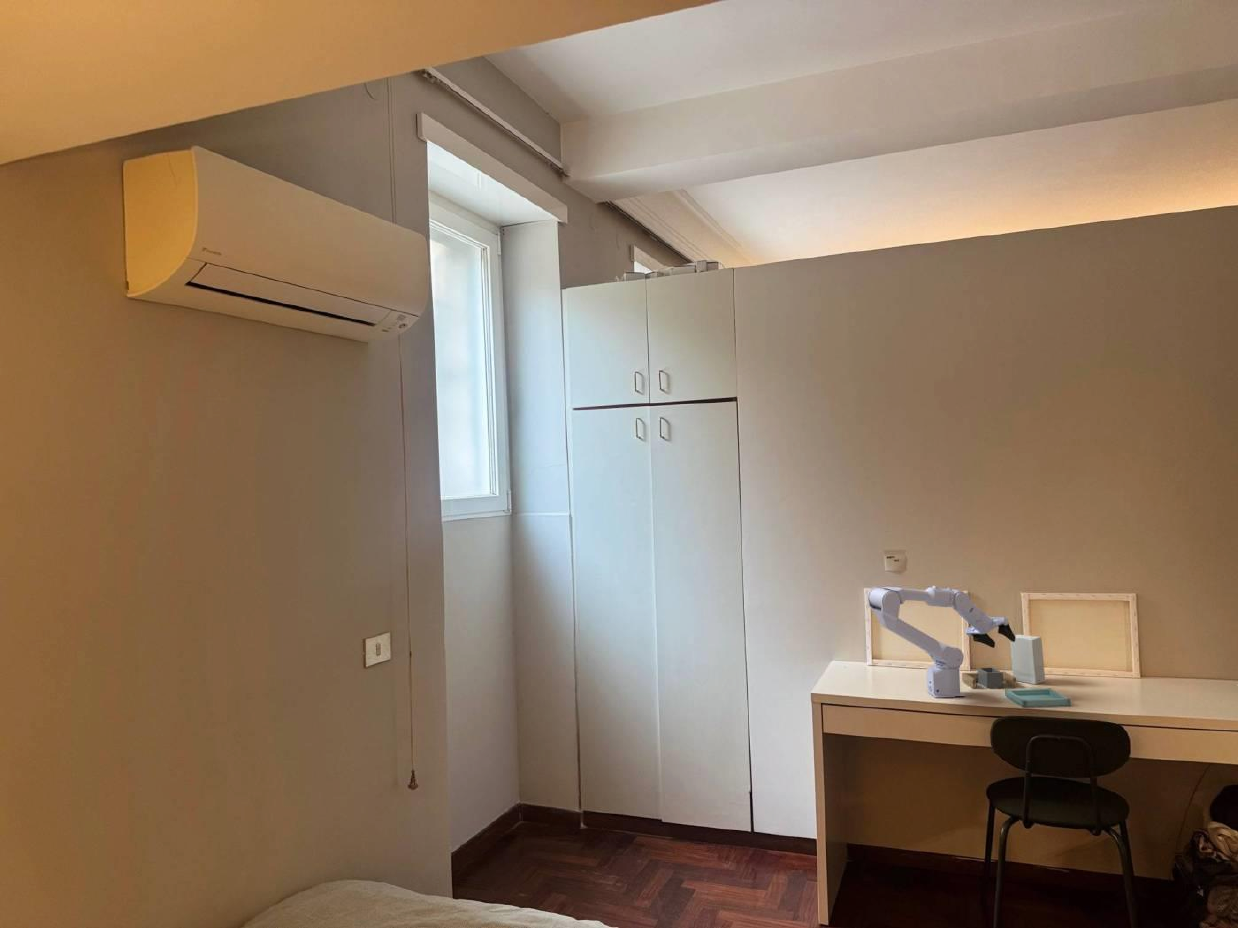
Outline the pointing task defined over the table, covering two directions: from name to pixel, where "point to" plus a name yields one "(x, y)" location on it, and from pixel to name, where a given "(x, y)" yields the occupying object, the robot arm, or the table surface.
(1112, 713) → the table surface
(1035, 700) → the tray
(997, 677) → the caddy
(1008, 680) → the bay
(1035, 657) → the skincare box
